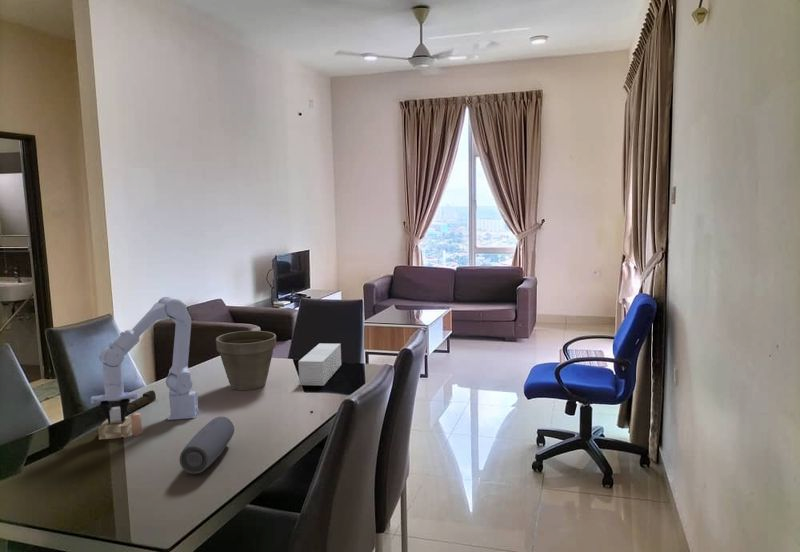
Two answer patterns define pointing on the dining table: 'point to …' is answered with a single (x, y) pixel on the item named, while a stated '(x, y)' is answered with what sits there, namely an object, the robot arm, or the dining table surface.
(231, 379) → the plant pot
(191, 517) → the dining table surface
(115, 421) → the square bit
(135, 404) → the hand tool
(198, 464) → the bluetooth speaker
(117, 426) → the socket block
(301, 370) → the long white block
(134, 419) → the round dowel
